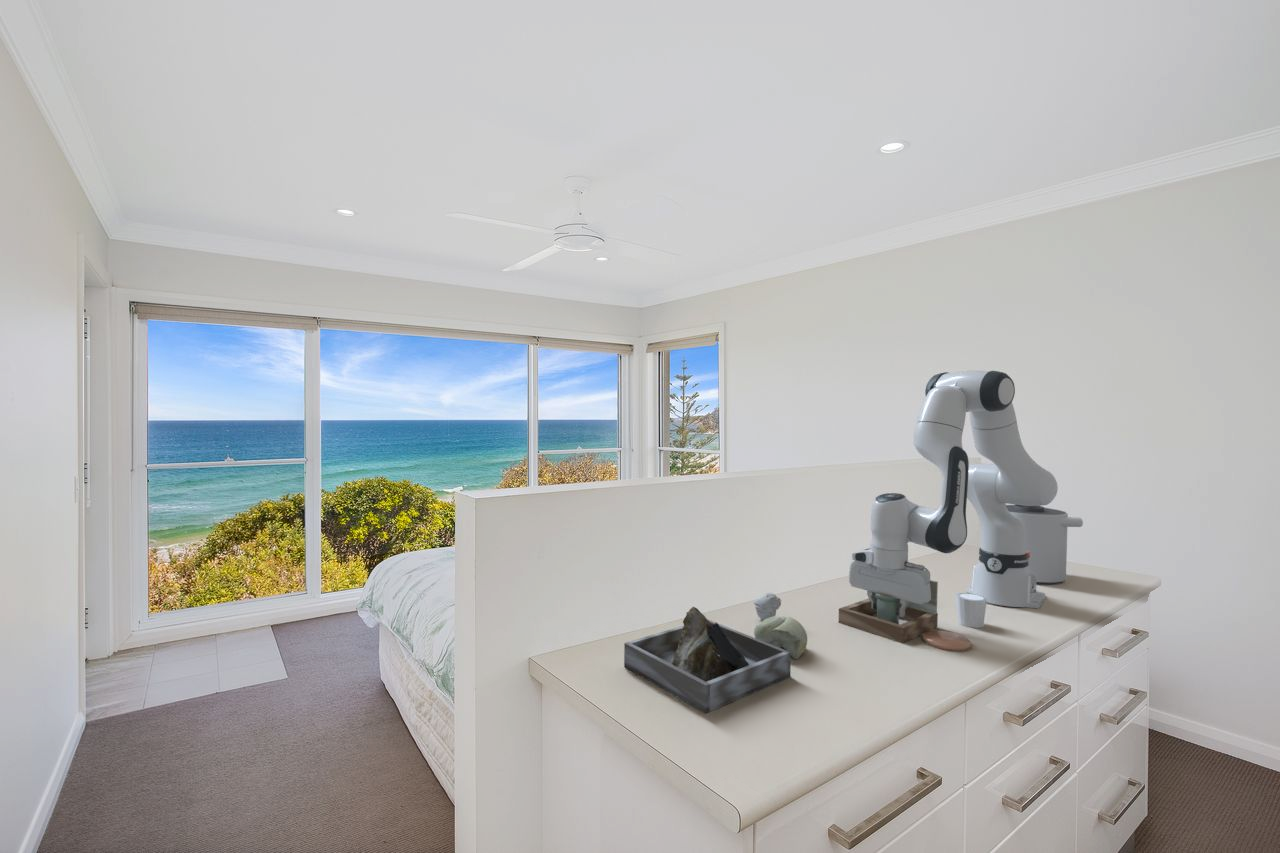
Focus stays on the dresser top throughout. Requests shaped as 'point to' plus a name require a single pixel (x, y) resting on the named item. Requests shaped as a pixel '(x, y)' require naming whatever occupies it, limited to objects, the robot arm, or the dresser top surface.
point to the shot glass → (971, 609)
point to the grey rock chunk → (767, 605)
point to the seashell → (783, 634)
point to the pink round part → (946, 640)
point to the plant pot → (887, 607)
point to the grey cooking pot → (1046, 540)
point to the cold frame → (915, 614)
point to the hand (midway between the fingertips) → (887, 612)
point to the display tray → (764, 670)
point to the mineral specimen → (706, 649)
